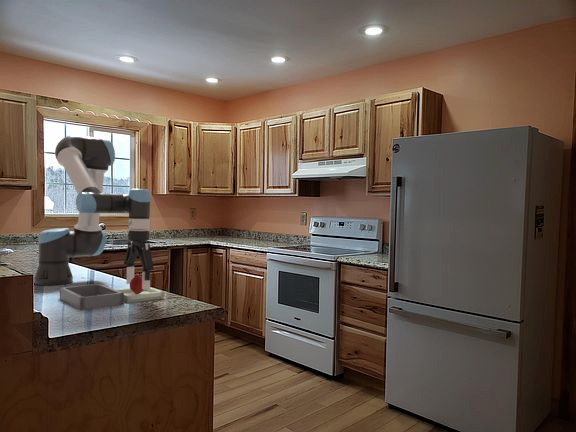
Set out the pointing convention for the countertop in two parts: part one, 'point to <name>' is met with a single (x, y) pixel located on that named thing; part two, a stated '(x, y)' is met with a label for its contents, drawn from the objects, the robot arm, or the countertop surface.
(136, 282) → the onion
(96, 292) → the bin
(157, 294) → the tray
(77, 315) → the countertop surface
